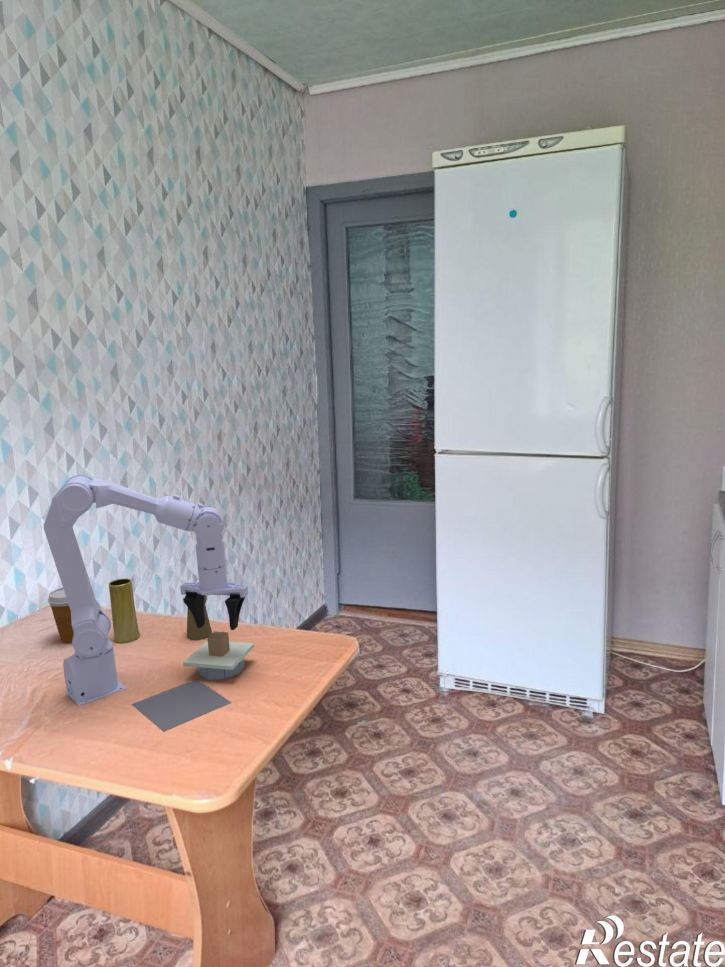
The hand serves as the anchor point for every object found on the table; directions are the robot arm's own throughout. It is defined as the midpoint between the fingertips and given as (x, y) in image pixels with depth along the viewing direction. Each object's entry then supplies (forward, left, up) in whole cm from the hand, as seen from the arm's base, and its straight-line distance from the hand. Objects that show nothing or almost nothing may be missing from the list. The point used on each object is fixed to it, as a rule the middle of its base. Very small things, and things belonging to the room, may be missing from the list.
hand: (217, 627), depth 142 cm
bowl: (0, 0, -10) cm, 10 cm away
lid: (0, 0, -6) cm, 6 cm away
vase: (-7, +33, -10) cm, 35 cm away
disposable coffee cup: (-16, +43, -10) cm, 47 cm away
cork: (+6, +21, -10) cm, 24 cm away
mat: (-13, -7, -10) cm, 18 cm away
